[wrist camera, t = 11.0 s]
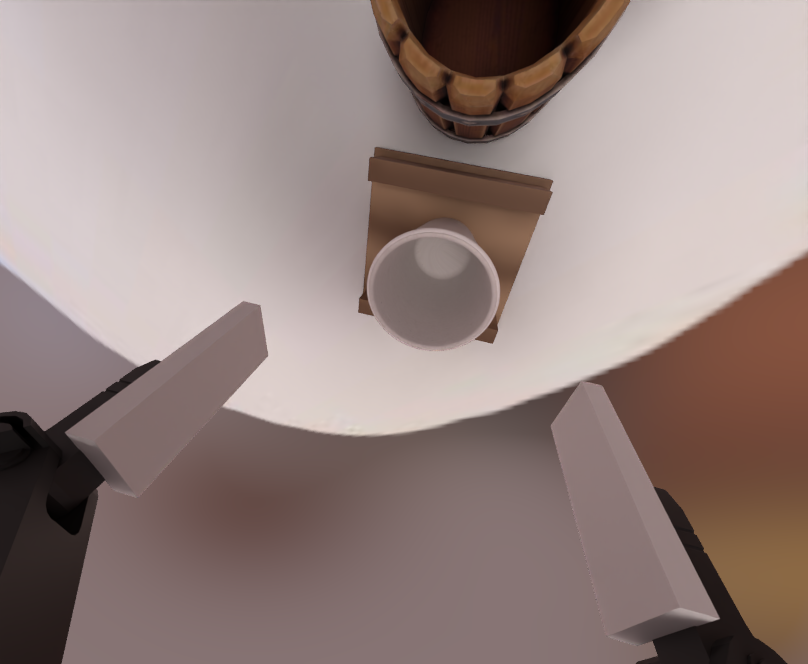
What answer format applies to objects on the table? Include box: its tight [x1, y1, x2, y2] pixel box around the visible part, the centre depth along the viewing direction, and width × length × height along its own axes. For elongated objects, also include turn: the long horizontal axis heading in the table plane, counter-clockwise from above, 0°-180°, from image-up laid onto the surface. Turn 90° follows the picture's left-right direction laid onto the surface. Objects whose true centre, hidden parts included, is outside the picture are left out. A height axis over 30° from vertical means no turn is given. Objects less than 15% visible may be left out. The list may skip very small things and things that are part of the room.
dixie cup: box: [367, 217, 500, 351], centre depth 23 cm, size 8×8×10 cm
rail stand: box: [358, 147, 553, 344], centre depth 26 cm, size 14×14×4 cm
